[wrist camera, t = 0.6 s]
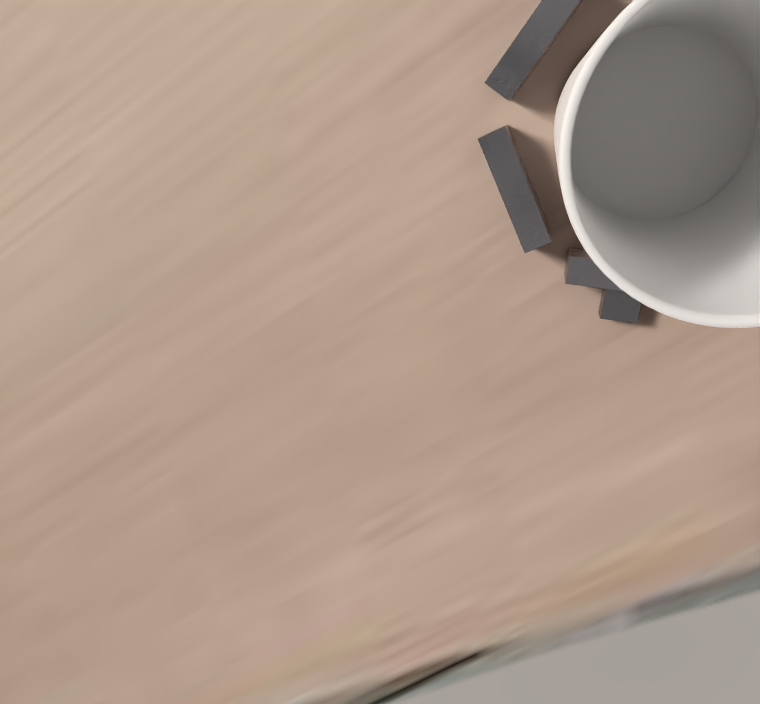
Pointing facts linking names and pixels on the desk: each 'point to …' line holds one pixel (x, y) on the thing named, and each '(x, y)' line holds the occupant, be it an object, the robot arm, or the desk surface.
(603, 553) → the desk surface
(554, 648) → the desk surface
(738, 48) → the cup
